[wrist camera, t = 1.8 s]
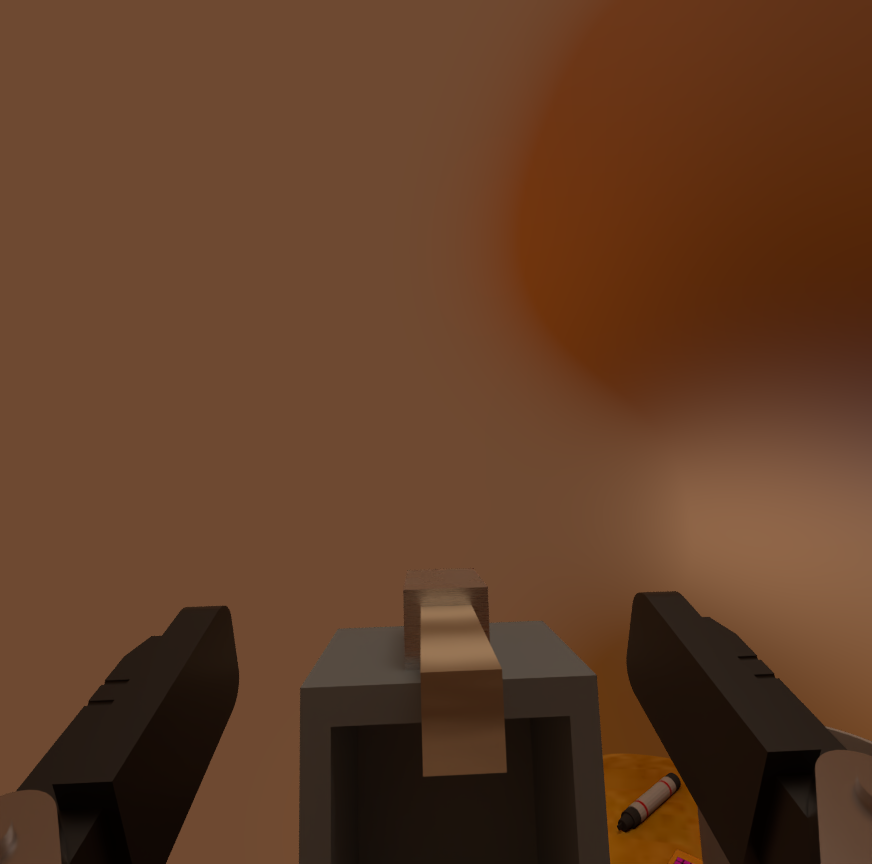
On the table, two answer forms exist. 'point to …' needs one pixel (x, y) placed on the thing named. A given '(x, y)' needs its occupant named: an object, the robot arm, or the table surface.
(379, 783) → the tall shelf
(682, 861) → the orange wooden platform
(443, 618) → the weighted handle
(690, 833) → the table surface
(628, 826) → the marker
